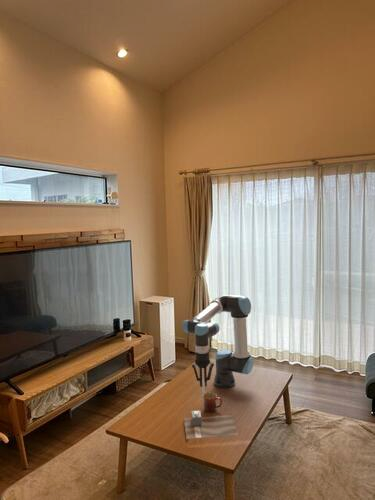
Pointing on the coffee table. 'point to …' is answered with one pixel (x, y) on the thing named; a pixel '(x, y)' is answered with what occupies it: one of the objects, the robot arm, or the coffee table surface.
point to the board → (210, 427)
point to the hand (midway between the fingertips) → (203, 391)
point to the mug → (210, 402)
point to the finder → (196, 418)
